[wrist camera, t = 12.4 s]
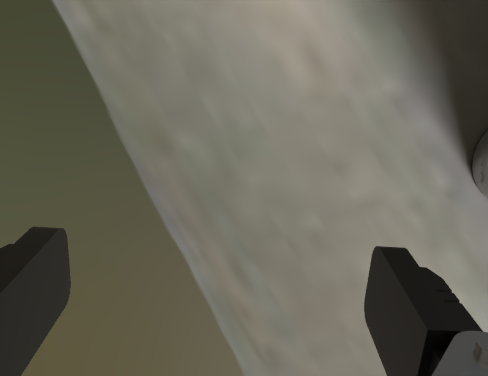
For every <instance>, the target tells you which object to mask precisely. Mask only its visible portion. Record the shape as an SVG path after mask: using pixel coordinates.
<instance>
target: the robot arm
mask: <svg viewBox="0 0 488 376" xmlns="http://www.w3.org/2000/svg"><path fill="white" fill-rule="evenodd" d="M472 170H473V177H474V180H475V183H476V185H477V187H478V188H479V190H480V191H481V193H482V194H484V195H485V196H486V197H487V198H488V130H487V131H486V133H485V134H484V135H483V136H482V138H481V140H480V141H479V143H478V145H477V147H476V150H475V153H474V156H473V163H472ZM69 268H70V267H69V255H68V241H67V234H66V232H65V230H64V229H63V228H48V227H32V228H30V229H29V230H28V231H27V232H26V233H25V234H24V235H23V236H22V237H21V238H20V239H19V240H18V241H17V242H15V243H14V244H9V245H6V246H4V247H2V248H0V376H21V375H22V373H23V372H24V370H25V369H26V367H27V365H28V364H29V362H30V361H31V359H32V358H33V356H34V355H35V353H36V351H37V350H38V348H39V347H40V345H41V344H42V342H43V341H44V339H45V337H46V336H47V334H48V333H49V331H50V329H51V328H52V327H53V325H54V323H55V322H56V320H57V319H58V317H59V316H60V314H61V313H62V311H63V310H64V308H65V306H66V304H67V302H68V298H69V294H70V286H71V285H70V284H71V282H70V269H69ZM364 312H365V320H366V323H367V326H368V329H369V331H370V334H371V336H372V339H373V341H374V344H375V346H376V349H377V351H378V354H379V356H380V359H381V361H382V364H383V366H384V369H385V371H386V374H387V376H488V333H486V332H483V331H482V330H481V328H480V327H479V326H478V324H477V323H476V322H475V321H474V319H473V318H472V317H471V315H470V314H469V313H468V311H467V310H466V309H465V307H464V306H463V305H462V304H460V303H459V300H458V298H457V297H456V296H455V294H454V293H452V290H451V289H450V288H449V286H448V285H447V284H446V283H445V281H444V280H443V279H442V278H441V277H439V276H438V275H436V274H435V273H434V272H432V271H431V270H429V269H428V268H425V267H419V265H418V264H417V263H416V261H415V260H414V258H413V257H412V256H411V254H410V253H409V251H408V250H407V249H406V248H398V247H380V246H376V247H375V248H374V250H373V254H372V259H371V265H370V271H369V277H368V283H367V289H366V295H365V302H364Z"/></svg>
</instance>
